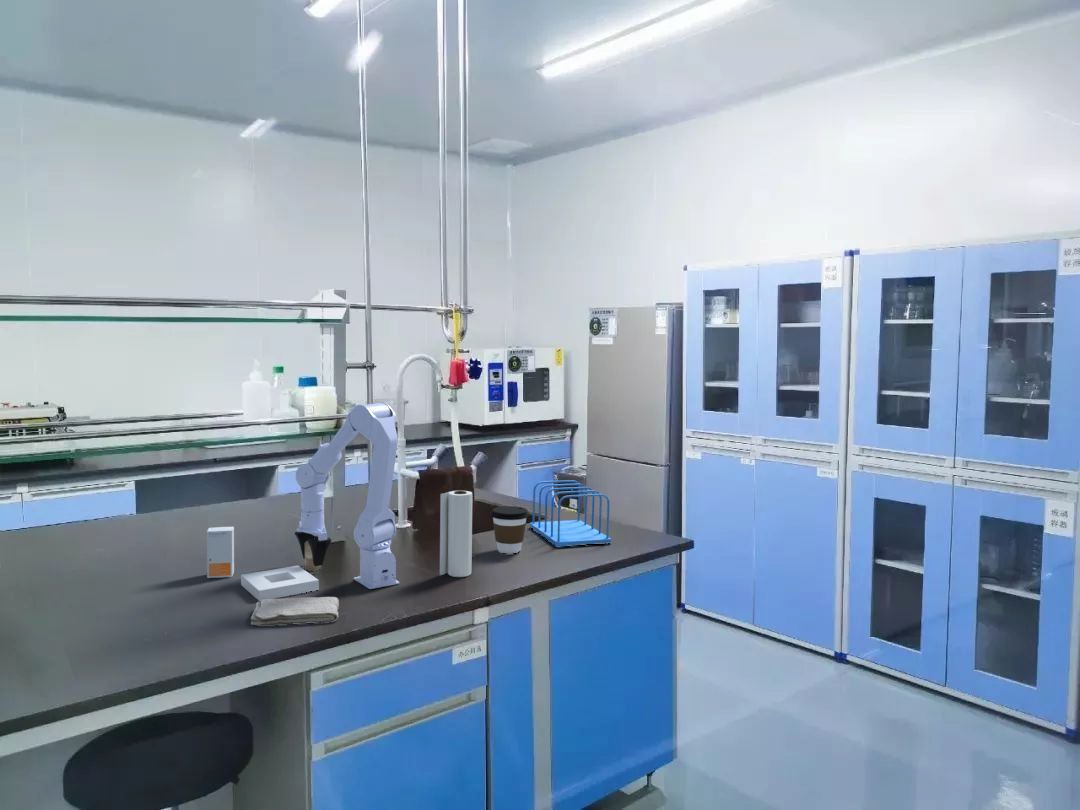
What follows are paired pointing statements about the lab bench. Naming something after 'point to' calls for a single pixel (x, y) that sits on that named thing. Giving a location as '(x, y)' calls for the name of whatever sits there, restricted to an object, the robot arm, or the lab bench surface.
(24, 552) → the lab bench surface
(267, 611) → the washcloth
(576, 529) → the file sorter
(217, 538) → the skincare box
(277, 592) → the socket block
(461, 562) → the paper towel roll
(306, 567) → the birch peg
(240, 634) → the lab bench surface
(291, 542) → the lab bench surface
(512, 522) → the coffee cup
